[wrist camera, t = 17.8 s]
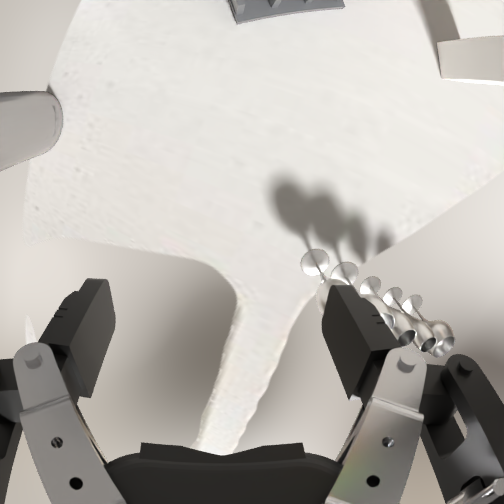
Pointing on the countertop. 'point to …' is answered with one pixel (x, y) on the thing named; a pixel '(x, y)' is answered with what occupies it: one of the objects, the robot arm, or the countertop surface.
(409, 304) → the goblet set
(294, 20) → the countertop surface
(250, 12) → the dish rack
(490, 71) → the milk
